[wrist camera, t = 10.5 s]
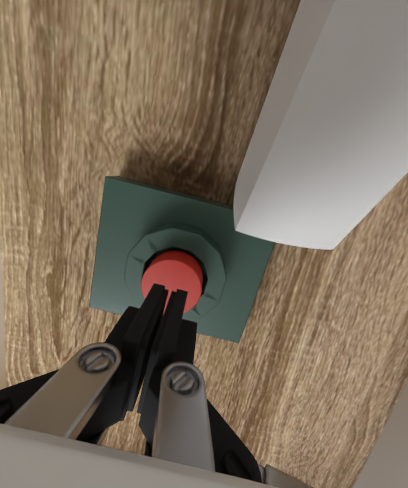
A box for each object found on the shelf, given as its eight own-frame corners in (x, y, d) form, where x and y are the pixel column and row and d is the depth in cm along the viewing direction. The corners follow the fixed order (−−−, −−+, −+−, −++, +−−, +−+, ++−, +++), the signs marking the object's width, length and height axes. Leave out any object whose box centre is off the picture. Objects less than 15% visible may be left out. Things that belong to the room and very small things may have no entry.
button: (144, 293, 16) (136, 307, 14) (154, 244, 15) (146, 252, 13) (195, 305, 16) (193, 321, 14) (208, 257, 15) (208, 268, 13)
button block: (101, 293, 20) (75, 321, 16) (118, 175, 17) (91, 176, 13) (236, 326, 20) (241, 360, 17) (274, 216, 18) (291, 228, 14)
